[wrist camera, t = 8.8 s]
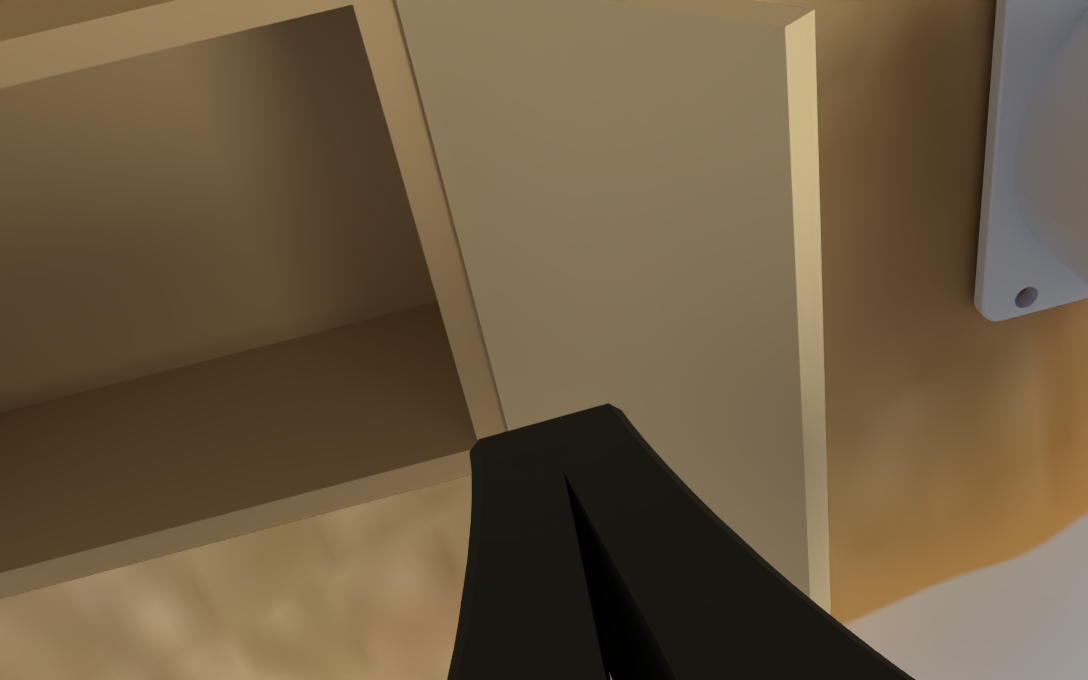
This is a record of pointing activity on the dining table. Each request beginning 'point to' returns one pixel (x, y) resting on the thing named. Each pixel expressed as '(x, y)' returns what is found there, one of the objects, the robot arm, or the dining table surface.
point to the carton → (219, 278)
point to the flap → (648, 234)
